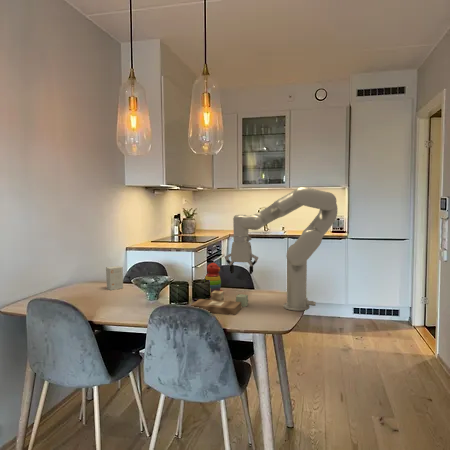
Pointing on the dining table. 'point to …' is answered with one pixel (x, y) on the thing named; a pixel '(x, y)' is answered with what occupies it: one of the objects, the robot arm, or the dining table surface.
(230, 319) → the dining table surface
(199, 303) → the base board
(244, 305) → the sage cube
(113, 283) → the small box
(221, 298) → the beech block
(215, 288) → the stacking bear
